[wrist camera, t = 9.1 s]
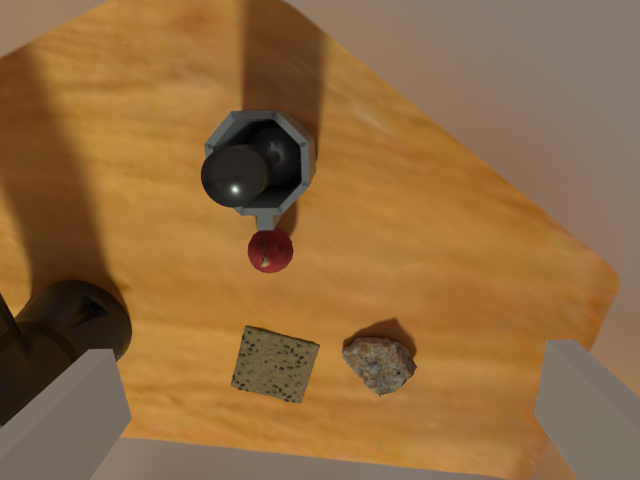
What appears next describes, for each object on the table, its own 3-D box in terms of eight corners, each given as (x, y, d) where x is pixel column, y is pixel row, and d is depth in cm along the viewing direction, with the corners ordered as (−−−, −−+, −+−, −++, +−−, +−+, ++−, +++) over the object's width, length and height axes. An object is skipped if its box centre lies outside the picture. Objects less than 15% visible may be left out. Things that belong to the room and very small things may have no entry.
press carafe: (247, 205, 47) (215, 234, 34) (239, 116, 43) (200, 111, 30) (317, 204, 46) (311, 233, 33) (315, 114, 43) (307, 109, 30)
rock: (421, 351, 53) (375, 321, 50) (429, 387, 48) (378, 357, 45) (380, 374, 57) (335, 348, 54) (384, 409, 52) (334, 383, 49)
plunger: (250, 185, 42) (189, 226, 24) (245, 128, 40) (174, 127, 22) (303, 184, 42) (282, 225, 24) (301, 127, 40) (276, 125, 22)
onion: (250, 225, 47) (234, 243, 40) (290, 217, 47) (282, 235, 39) (260, 263, 49) (247, 288, 42) (299, 257, 49) (293, 281, 41)
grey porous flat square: (302, 402, 57) (301, 407, 56) (230, 384, 56) (229, 388, 55) (321, 343, 53) (321, 346, 52) (245, 323, 53) (244, 326, 52)
